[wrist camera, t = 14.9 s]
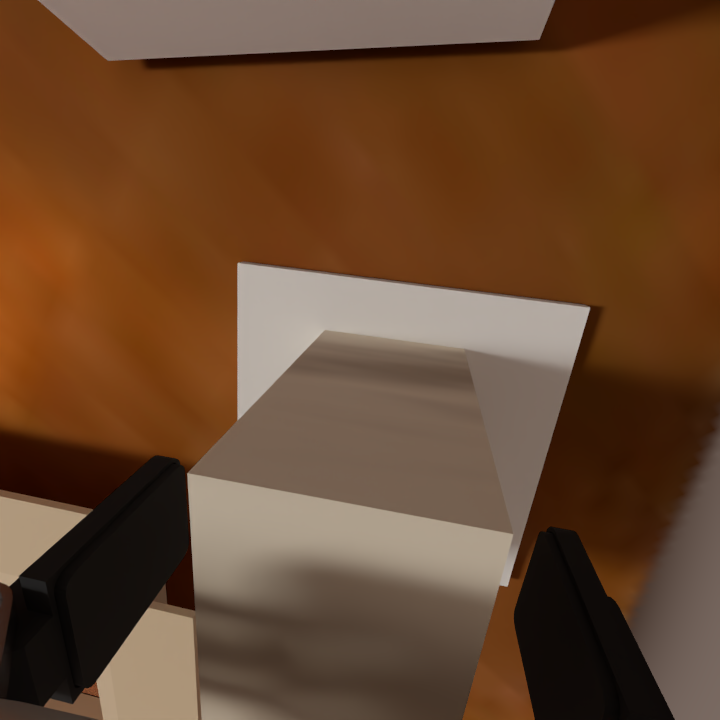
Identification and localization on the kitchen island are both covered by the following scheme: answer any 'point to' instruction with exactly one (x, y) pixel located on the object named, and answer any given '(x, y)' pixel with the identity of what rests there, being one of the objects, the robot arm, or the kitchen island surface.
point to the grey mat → (429, 326)
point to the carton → (141, 648)
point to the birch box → (348, 539)
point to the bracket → (291, 24)
